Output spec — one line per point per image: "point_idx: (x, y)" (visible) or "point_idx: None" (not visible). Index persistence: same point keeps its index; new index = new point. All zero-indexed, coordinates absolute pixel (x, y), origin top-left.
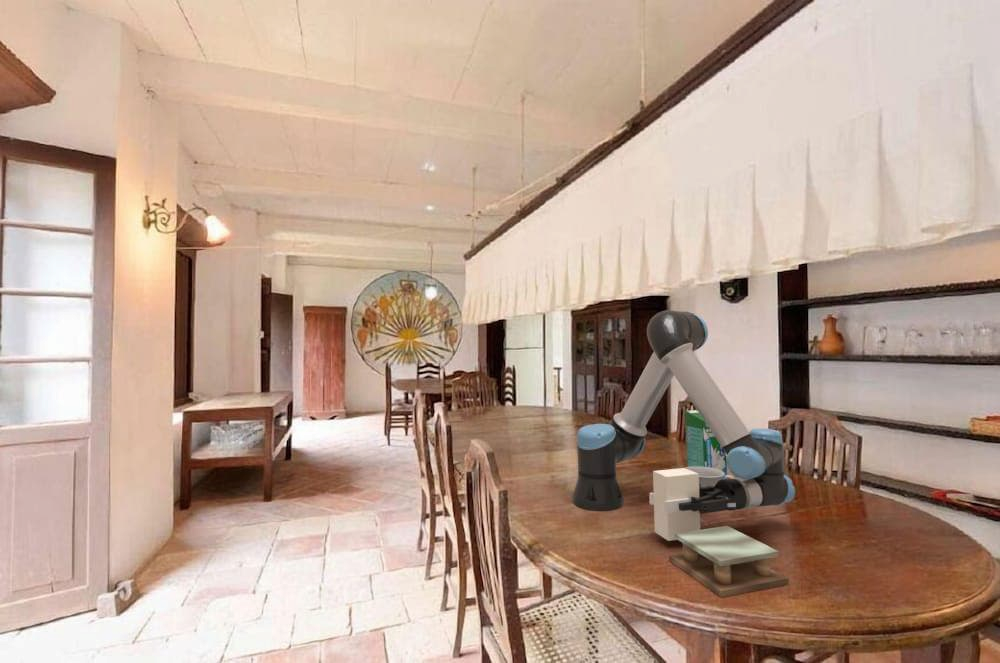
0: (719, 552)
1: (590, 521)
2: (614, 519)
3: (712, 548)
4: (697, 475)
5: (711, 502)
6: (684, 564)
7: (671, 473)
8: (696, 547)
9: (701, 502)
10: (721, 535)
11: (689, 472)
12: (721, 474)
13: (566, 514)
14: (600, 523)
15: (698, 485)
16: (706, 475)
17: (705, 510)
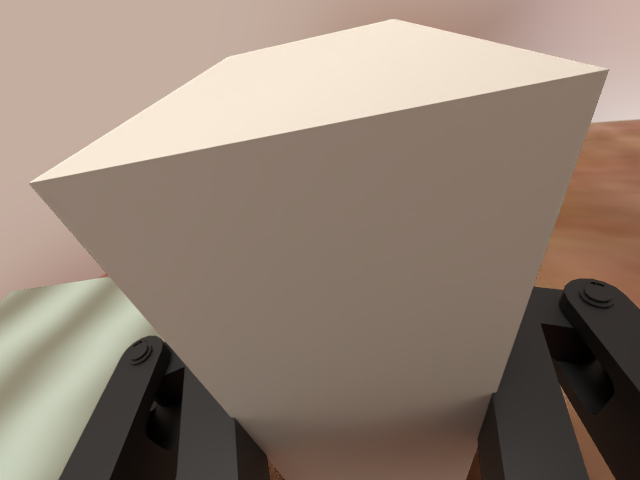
0: (25, 315)
1: (569, 214)
2: (626, 273)
3: (55, 311)
4: (74, 199)
5: (73, 458)
6: None
7: (285, 55)
8: (105, 279)
9: (134, 348)
10: (54, 419)
11: (210, 114)
12: None
13: (622, 178)
14: (556, 231)
15: (169, 333)
16: None
17: (150, 411)
